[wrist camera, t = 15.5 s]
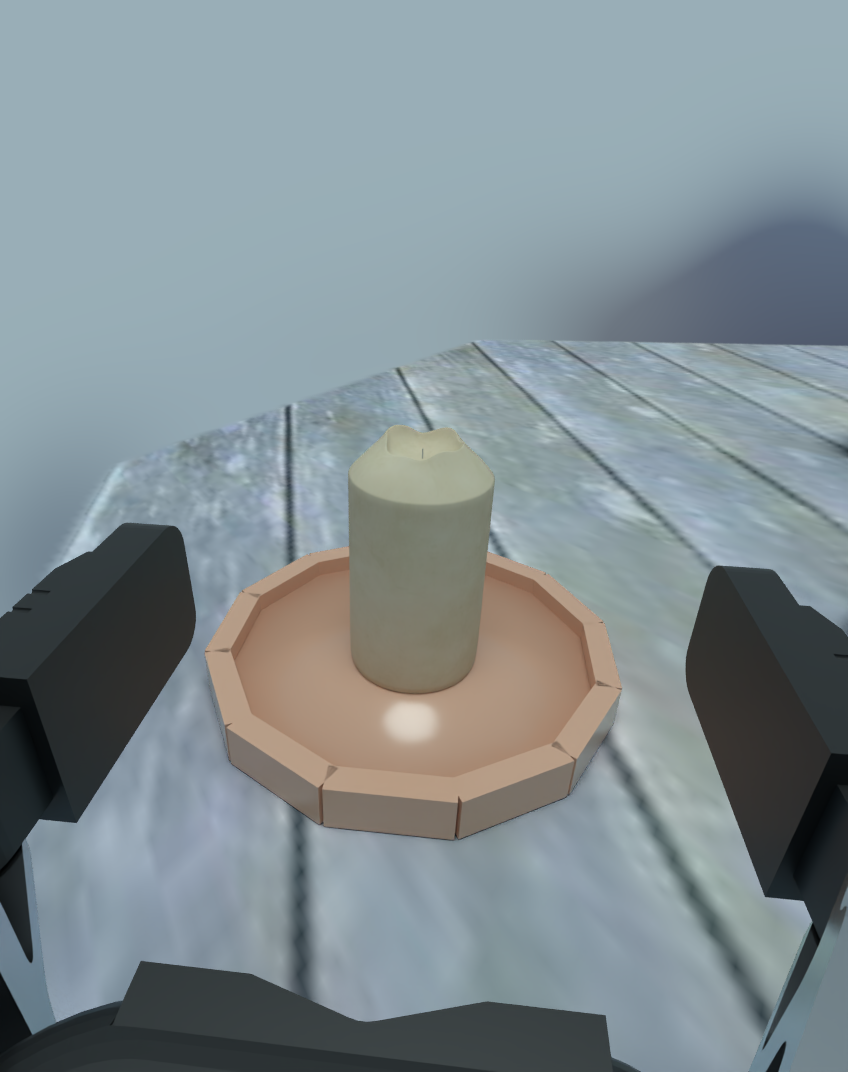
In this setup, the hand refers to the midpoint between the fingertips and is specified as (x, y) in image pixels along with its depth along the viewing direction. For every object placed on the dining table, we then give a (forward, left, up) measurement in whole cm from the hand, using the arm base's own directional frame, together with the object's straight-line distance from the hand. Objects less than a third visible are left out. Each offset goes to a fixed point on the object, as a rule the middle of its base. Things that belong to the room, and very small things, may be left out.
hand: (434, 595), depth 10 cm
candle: (-6, -13, -13) cm, 19 cm away
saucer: (-6, -13, -14) cm, 20 cm away
